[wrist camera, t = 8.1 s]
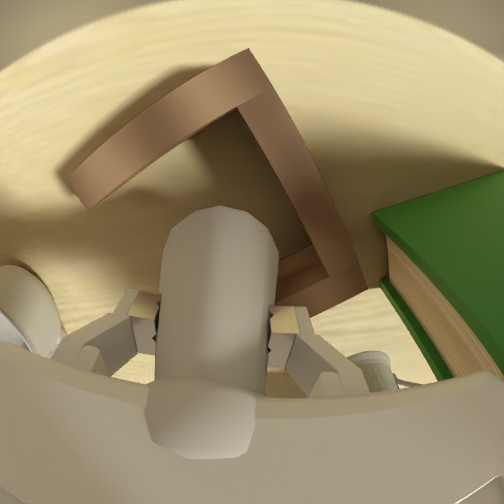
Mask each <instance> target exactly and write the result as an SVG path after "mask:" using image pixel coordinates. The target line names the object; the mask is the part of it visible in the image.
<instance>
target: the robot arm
mask: <svg viewBox="0 0 504 504" xmlns="http://www.w3.org/2000/svg"><path fill="white" fill-rule="evenodd" d="M161 297H162V293H158V292H152V291H146V290H139V289H133V288H128V289H126V291H125V293H124V295H123V296H122V298H121V300H120V302H119V303H118V305H117V307H116V309H115V311H114V312H113V313H108V314H106V315H104V316H103V317H101V318H99V319H97V320H95V321H93V322H91V323H90V324H88V325H86V326H84V327H82V328H80V329H78V330H77V331H75V332H73V333H71V334H69V335H67V336H65V337H64V338H63V339H62V340H61V342H60V344H59V345H58V347H57V349H56V350H55V352H54V354H53V356H52V357H51V359H49V358H46V357H43V356H41V355H38V354H35V353H33V352H30V351H28V350H25V349H23V348H20V347H18V346H15V345H13V344H11V343H8V342H6V341H4V340H2V339H0V504H504V381H503V380H502V379H500V378H499V377H497V376H496V375H494V374H493V373H491V372H489V371H487V370H481V371H477V372H474V373H470V374H467V375H463V376H459V377H456V378H452V379H447V380H443V381H439V382H434V383H430V384H425V385H420V386H414V387H409V388H403V389H397V390H390V391H383V392H375V393H370V392H369V389H368V386H367V384H366V381H365V378H364V376H363V373H362V370H361V369H360V368H358V367H357V366H356V365H355V364H353V363H352V362H351V361H350V360H349V359H347V358H346V357H345V356H344V355H342V354H341V353H340V352H339V351H337V350H336V349H335V348H334V347H333V346H331V345H330V344H329V343H328V342H326V341H325V340H324V339H323V338H322V337H320V336H319V335H315V333H314V330H313V327H312V323H311V320H310V317H309V314H308V310H307V308H306V307H304V306H278V305H269V315H270V321H269V333H268V341H267V342H268V355H269V358H268V366H267V367H274V368H285V370H286V371H287V373H288V374H289V375H290V376H291V377H292V379H293V380H294V381H295V382H296V384H297V385H298V386H299V387H300V389H301V390H302V391H303V392H304V393H305V395H306V396H307V397H308V398H266V397H261V398H259V399H258V403H257V408H256V413H255V418H254V419H255V428H254V431H253V434H252V437H251V441H250V444H249V447H248V450H247V452H246V453H244V454H242V455H240V456H238V457H235V458H220V459H187V458H184V457H182V456H180V455H178V454H176V453H173V452H171V451H169V450H167V449H165V448H163V447H161V446H159V445H157V444H155V443H153V442H152V439H151V436H150V433H149V429H148V426H147V422H146V419H145V415H144V410H145V408H146V404H147V398H148V392H149V388H150V385H146V384H141V383H136V382H131V381H126V380H122V379H118V378H113V377H111V376H112V375H113V374H114V373H115V372H116V371H118V370H119V369H120V368H121V367H122V366H123V365H125V364H126V363H127V362H128V361H129V360H130V359H132V358H133V357H134V356H135V355H136V354H137V353H143V354H150V355H155V344H156V331H157V325H158V319H159V308H160V304H161Z"/></svg>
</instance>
